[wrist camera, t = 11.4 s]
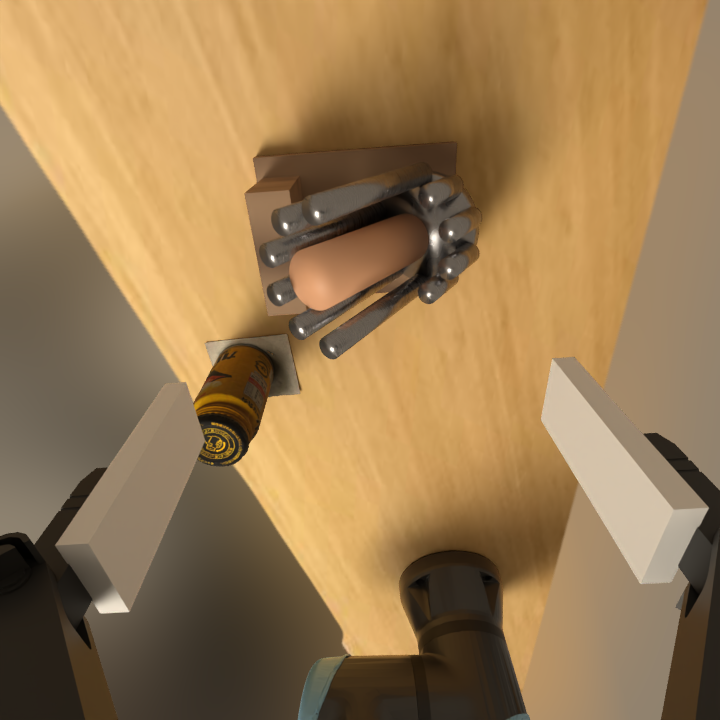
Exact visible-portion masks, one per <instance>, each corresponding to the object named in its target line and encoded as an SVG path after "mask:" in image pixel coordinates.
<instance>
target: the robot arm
mask: <svg viewBox="0 0 720 720" xmlns="http://www.w3.org/2000/svg"><path fill="white" fill-rule="evenodd" d="M541 421H542V422H543V424H544V426H545V427H546V429H547V431H548V432H549V434H550V436H551V437H552V439H553V441H554V442H555V444H556V445H557V447H558V449H559V450H560V452H561V454H562V455H563V457H564V459H565V460H566V462H567V464H568V465H569V467H570V469H571V470H572V472H573V473H574V475H575V477H576V478H577V480H578V482H579V483H580V485H581V486H582V488H583V490H584V492H585V493H586V495H587V497H588V498H589V500H590V501H591V503H592V505H593V506H594V508H595V510H596V511H597V513H598V514H599V516H600V518H601V519H602V521H603V523H604V524H605V526H606V528H607V529H608V531H609V533H610V534H611V536H612V538H613V539H614V541H615V543H616V544H617V546H618V547H619V549H620V551H621V553H622V554H623V556H624V557H625V559H626V561H627V562H628V564H629V566H630V567H631V569H632V571H633V572H634V574H635V576H636V577H637V578H638V581H639V582H640V584H649V583H668V582H671V581H672V580H673V578H674V576H675V574H676V572H677V570H678V568H680V570H681V571H682V572H683V574H684V575H685V577H686V578H687V579H688V581H689V583H688V585H687V587H686V589H685V591H684V592H683V594H682V596H681V598H680V600H679V602H678V603H677V605H676V608H678V609H680V610H681V614H680V619H679V625H678V630H677V636H676V641H675V646H674V652H673V657H672V663H671V668H670V674H669V680H668V684H667V690H666V695H665V701H664V706H663V712H662V717H661V720H720V491H719V490H718V488H717V487H716V486H715V485H714V484H713V483H712V482H711V481H710V480H709V479H708V478H707V477H706V476H705V475H704V474H703V473H702V472H699V469H698V468H697V467H696V466H695V465H694V463H693V462H692V461H689V460H688V457H687V456H686V455H685V454H684V453H683V452H682V451H681V450H680V449H679V448H678V447H677V446H676V445H675V444H674V443H672V442H670V441H669V440H667V439H665V438H664V437H662V436H661V435H659V434H658V433H648V434H643V433H642V432H641V431H640V430H639V429H638V428H637V427H636V426H635V424H634V423H633V422H632V421H631V420H630V419H629V418H628V417H627V416H626V414H624V412H623V411H622V410H621V409H620V408H619V407H618V405H617V404H616V403H615V402H614V401H613V400H612V399H611V398H610V397H609V395H608V394H607V393H606V392H605V391H604V390H603V389H602V388H601V386H600V385H599V384H598V383H597V382H596V381H595V380H594V379H593V378H592V376H591V375H590V374H589V373H588V372H587V371H586V370H585V369H584V367H583V366H582V365H581V364H580V363H579V362H578V361H577V360H576V359H575V357H567V358H552V363H551V369H550V374H549V379H548V385H547V390H546V395H545V401H544V406H543V411H542V417H541ZM204 442H205V439H204V436H203V433H202V430H201V426H200V423H199V420H198V417H197V414H196V411H195V408H194V405H193V402H192V399H191V396H190V393H189V390H188V387H187V384H186V382H182V383H167V384H164V386H163V387H162V389H161V390H160V392H159V394H158V395H157V396H156V398H155V399H154V401H153V402H152V404H151V405H150V407H149V408H148V409H147V411H146V413H145V414H144V415H143V417H142V418H141V420H140V421H139V423H138V424H137V426H136V427H135V429H134V430H133V432H132V433H131V434H130V436H129V438H128V439H127V440H126V442H125V443H124V445H123V446H122V448H121V449H120V451H119V452H118V454H117V455H116V457H115V458H114V460H113V461H112V462H111V464H110V465H109V467H108V468H96V469H95V470H94V471H93V472H91V473H90V474H89V475H88V476H86V477H85V478H84V479H83V480H82V481H80V483H79V484H78V486H77V487H76V488H75V490H74V491H73V492H72V494H71V495H70V499H67V501H66V502H65V503H64V505H63V506H62V508H61V511H59V512H58V513H57V514H56V516H55V517H54V519H53V520H52V521H51V523H50V524H49V525H48V527H47V528H46V530H45V531H44V532H43V534H42V535H41V536H40V538H39V539H38V541H37V542H36V543H35V545H34V544H33V543H32V542H31V540H30V539H29V537H28V536H27V535H26V534H23V533H19V532H16V533H9V534H5V535H2V536H0V720H118V717H117V714H116V711H115V707H114V704H113V701H112V698H111V694H110V691H109V688H108V685H107V681H106V678H105V675H104V672H103V668H102V665H101V662H100V658H99V655H98V652H97V649H96V646H95V642H94V639H93V636H92V633H91V629H90V626H89V623H88V621H87V619H86V618H85V617H84V614H85V612H86V611H87V609H88V607H89V605H90V603H91V601H93V603H94V605H95V606H96V608H97V609H98V611H99V612H100V613H116V612H130V609H131V607H132V605H133V603H134V600H135V598H136V596H137V594H138V591H139V589H140V587H141V585H142V582H143V580H144V578H145V575H146V573H147V571H148V569H149V567H150V564H151V562H152V559H153V557H154V555H155V553H156V551H157V548H158V546H159V544H160V542H161V539H162V537H163V535H164V533H165V530H166V528H167V526H168V523H169V521H170V519H171V517H172V514H173V512H174V510H175V508H176V505H177V503H178V501H179V499H180V496H181V494H182V492H183V489H184V487H185V485H186V483H187V481H188V478H189V476H190V474H191V472H192V469H193V467H194V465H195V463H196V460H197V458H198V456H199V453H200V451H201V449H202V447H203V444H204ZM399 588H400V598H401V603H402V606H403V608H404V610H405V613H406V615H407V617H408V620H409V622H410V624H411V627H412V629H413V631H414V634H415V636H416V638H417V642H418V649H419V655H378V656H351V655H350V654H346V655H343V656H342V657H329V658H322V659H320V660H318V661H317V662H316V663H315V664H314V665H313V666H312V668H311V669H310V671H309V674H308V677H307V679H306V683H305V687H304V691H303V695H302V699H301V705H300V710H299V715H298V720H530V718H529V715H528V714H527V713H526V709H525V705H524V702H523V699H522V695H521V692H520V688H519V685H518V681H517V678H516V674H515V671H514V668H513V664H512V661H511V657H510V654H509V651H508V647H507V644H506V640H505V637H504V633H503V628H502V624H503V586H502V582H501V579H500V576H499V572H498V570H497V568H496V566H495V565H494V564H493V563H492V562H491V561H490V560H488V559H487V558H485V557H483V556H481V555H478V554H474V553H470V552H463V551H448V552H441V553H436V554H432V555H429V556H426V557H424V558H421V559H419V560H418V561H416V562H414V563H413V564H411V565H410V566H409V567H408V568H407V569H406V570H405V571H404V572H403V574H402V576H401V578H400V581H399Z"/></svg>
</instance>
